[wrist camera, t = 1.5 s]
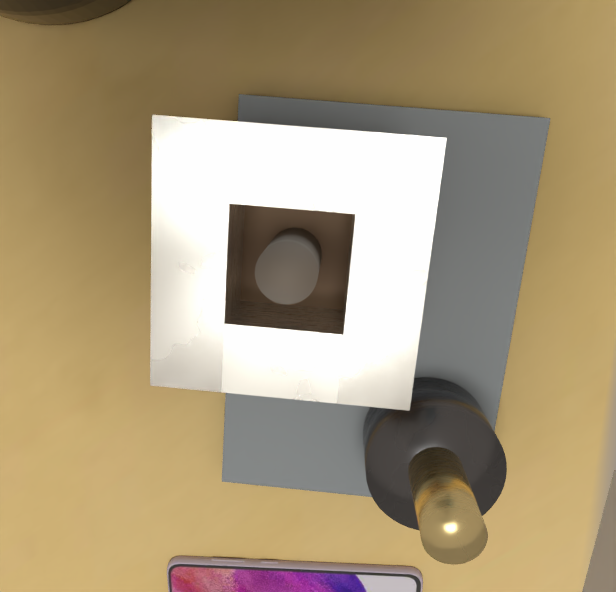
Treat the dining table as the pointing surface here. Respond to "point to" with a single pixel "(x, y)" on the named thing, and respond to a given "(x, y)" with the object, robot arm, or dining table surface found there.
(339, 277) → the stand
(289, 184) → the silver square ring
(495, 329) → the board
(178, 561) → the smartphone
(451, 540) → the hub
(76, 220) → the dining table surface
